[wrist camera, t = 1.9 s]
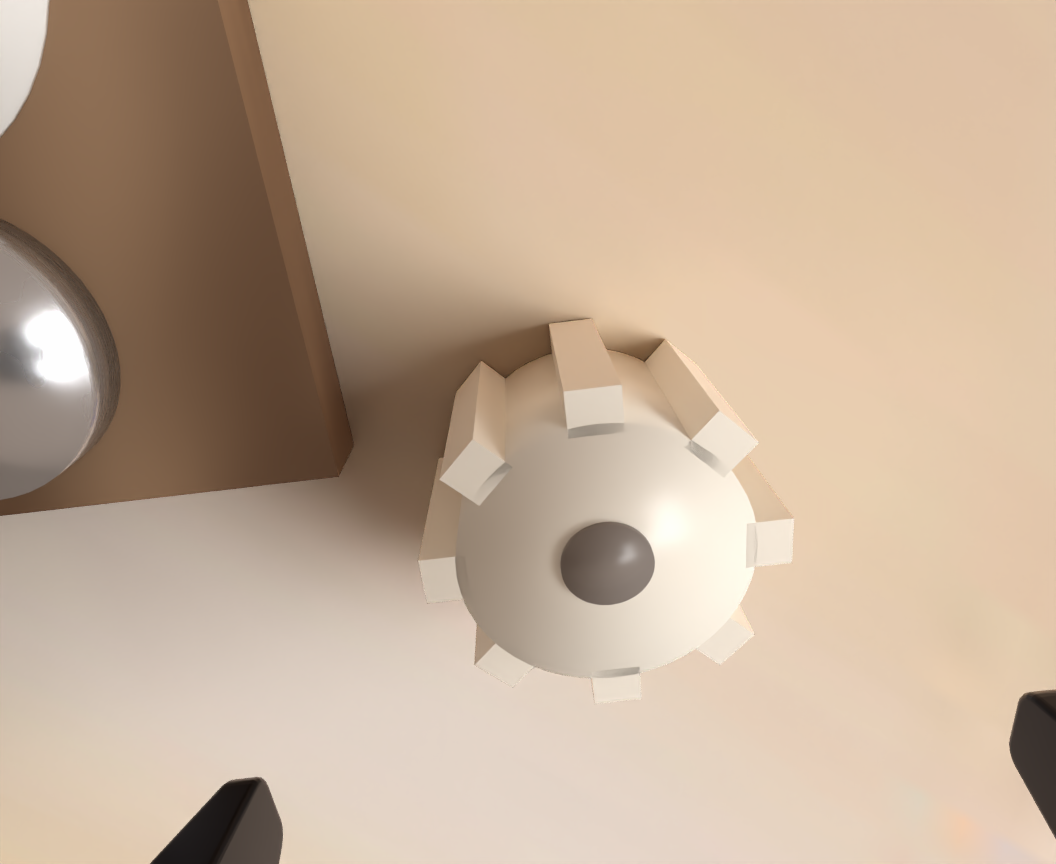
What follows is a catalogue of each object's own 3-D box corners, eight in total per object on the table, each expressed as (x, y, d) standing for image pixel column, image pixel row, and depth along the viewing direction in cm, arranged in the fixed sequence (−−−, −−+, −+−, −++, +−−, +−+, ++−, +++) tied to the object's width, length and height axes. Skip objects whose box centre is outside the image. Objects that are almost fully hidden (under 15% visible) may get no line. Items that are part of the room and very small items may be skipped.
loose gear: (463, 591, 17) (450, 725, 13) (416, 339, 14) (384, 415, 11) (725, 561, 17) (788, 689, 13) (725, 302, 14) (806, 366, 10)
